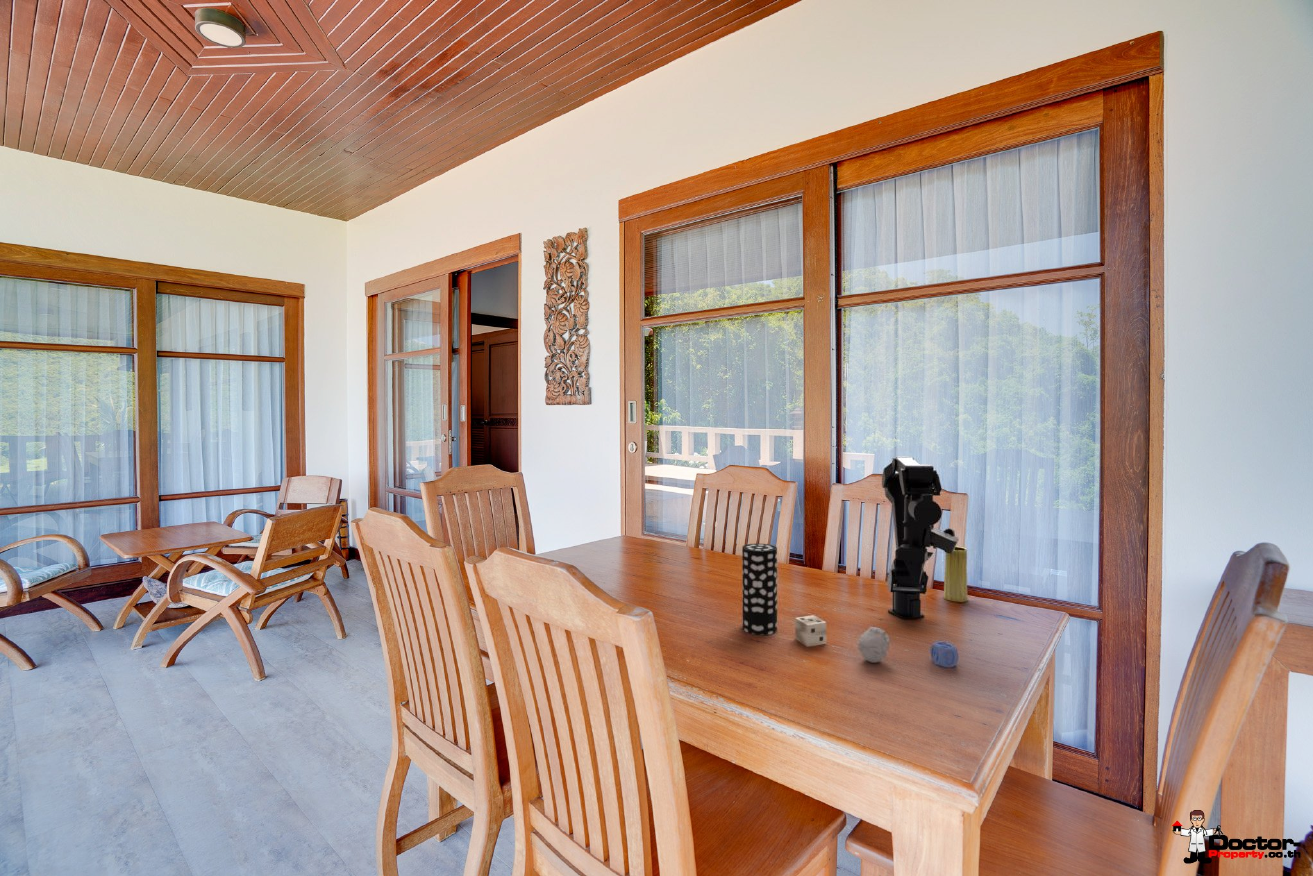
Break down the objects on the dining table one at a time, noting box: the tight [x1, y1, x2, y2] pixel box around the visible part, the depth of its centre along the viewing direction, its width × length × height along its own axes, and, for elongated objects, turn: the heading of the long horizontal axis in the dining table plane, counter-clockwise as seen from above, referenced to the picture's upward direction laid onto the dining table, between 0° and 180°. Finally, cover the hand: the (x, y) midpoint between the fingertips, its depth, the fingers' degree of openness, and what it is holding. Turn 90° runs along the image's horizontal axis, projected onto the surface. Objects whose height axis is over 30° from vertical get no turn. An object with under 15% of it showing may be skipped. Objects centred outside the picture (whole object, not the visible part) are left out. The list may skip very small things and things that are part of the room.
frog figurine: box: [857, 626, 891, 664], centre depth 123 cm, size 6×7×7 cm
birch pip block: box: [794, 614, 827, 648], centre depth 134 cm, size 5×5×5 cm
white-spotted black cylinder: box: [741, 543, 778, 636], centre depth 142 cm, size 8×8×20 cm
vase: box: [942, 545, 969, 603], centre depth 163 cm, size 6×6×14 cm
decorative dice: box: [929, 640, 960, 668], centre depth 122 cm, size 4×4×4 cm
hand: (917, 583), depth 138 cm, fingers closed
